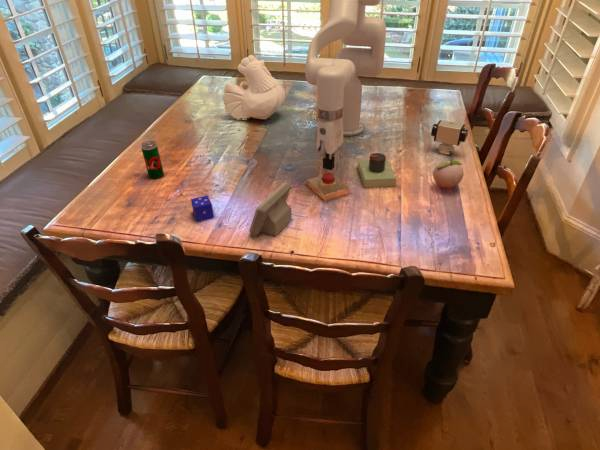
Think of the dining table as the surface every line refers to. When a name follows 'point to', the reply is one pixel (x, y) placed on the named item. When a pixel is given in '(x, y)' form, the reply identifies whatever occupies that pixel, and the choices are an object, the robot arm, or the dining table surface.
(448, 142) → the pneumatic valve
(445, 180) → the decorative fruit
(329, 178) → the button
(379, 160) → the dial knob
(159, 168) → the soda can
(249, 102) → the decorative rooster
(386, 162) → the dial panel
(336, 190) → the button box
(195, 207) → the die
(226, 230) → the dining table surface
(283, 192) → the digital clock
